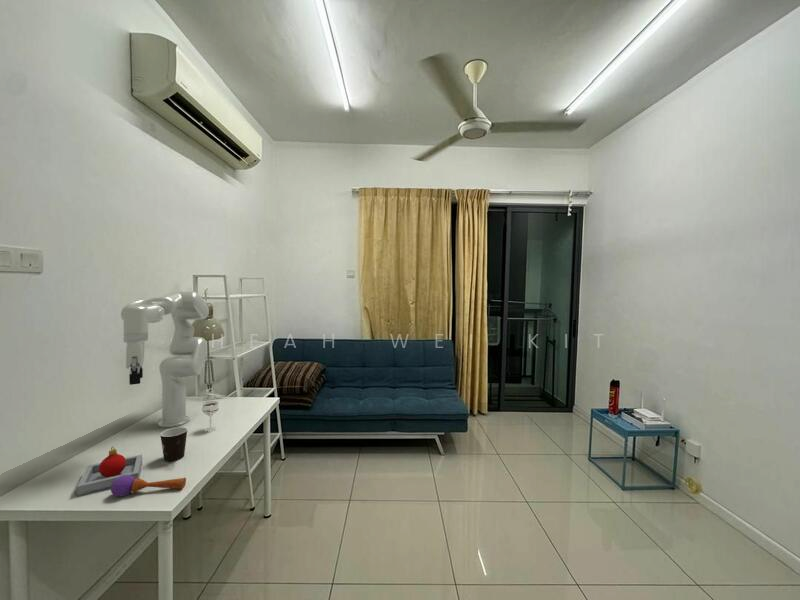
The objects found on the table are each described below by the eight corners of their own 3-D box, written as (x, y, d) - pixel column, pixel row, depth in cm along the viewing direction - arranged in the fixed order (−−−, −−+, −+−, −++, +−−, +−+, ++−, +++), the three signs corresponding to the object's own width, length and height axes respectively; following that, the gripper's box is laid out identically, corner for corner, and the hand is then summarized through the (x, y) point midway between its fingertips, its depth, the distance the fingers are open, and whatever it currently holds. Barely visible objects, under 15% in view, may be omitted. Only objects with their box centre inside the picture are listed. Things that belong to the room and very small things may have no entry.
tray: (88, 473, 116) (87, 465, 116) (142, 462, 124) (142, 454, 124) (77, 496, 104) (76, 486, 104) (138, 481, 112) (138, 472, 112)
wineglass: (210, 425, 159) (210, 400, 158) (222, 427, 157) (222, 401, 157) (198, 431, 152) (198, 405, 152) (210, 433, 150) (210, 406, 150)
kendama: (180, 482, 105) (105, 484, 101) (179, 498, 107) (106, 501, 102) (187, 468, 111) (117, 470, 107) (187, 484, 112) (118, 486, 108)
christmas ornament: (131, 472, 116) (130, 444, 116) (107, 483, 110) (106, 453, 109) (118, 468, 119) (117, 440, 118) (93, 479, 112) (93, 449, 112)
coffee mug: (164, 454, 131) (164, 428, 131) (189, 450, 134) (189, 425, 134) (154, 469, 120) (154, 441, 120) (182, 464, 123) (182, 438, 123)
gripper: (126, 335, 136) (126, 377, 136) (120, 341, 121) (120, 387, 122) (149, 334, 140) (149, 375, 140) (146, 339, 126) (146, 385, 126)
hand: (136, 381), depth 131 cm, fingers open, 9 cm apart
